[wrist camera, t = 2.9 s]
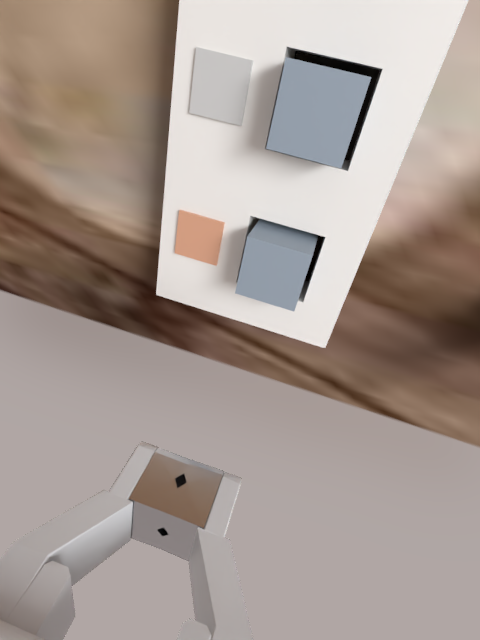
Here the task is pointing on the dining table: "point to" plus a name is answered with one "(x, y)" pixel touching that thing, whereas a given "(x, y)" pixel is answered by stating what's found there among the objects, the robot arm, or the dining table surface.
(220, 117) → the button panel
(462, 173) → the dining table surface
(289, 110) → the middle button
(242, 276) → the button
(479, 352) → the dining table surface
